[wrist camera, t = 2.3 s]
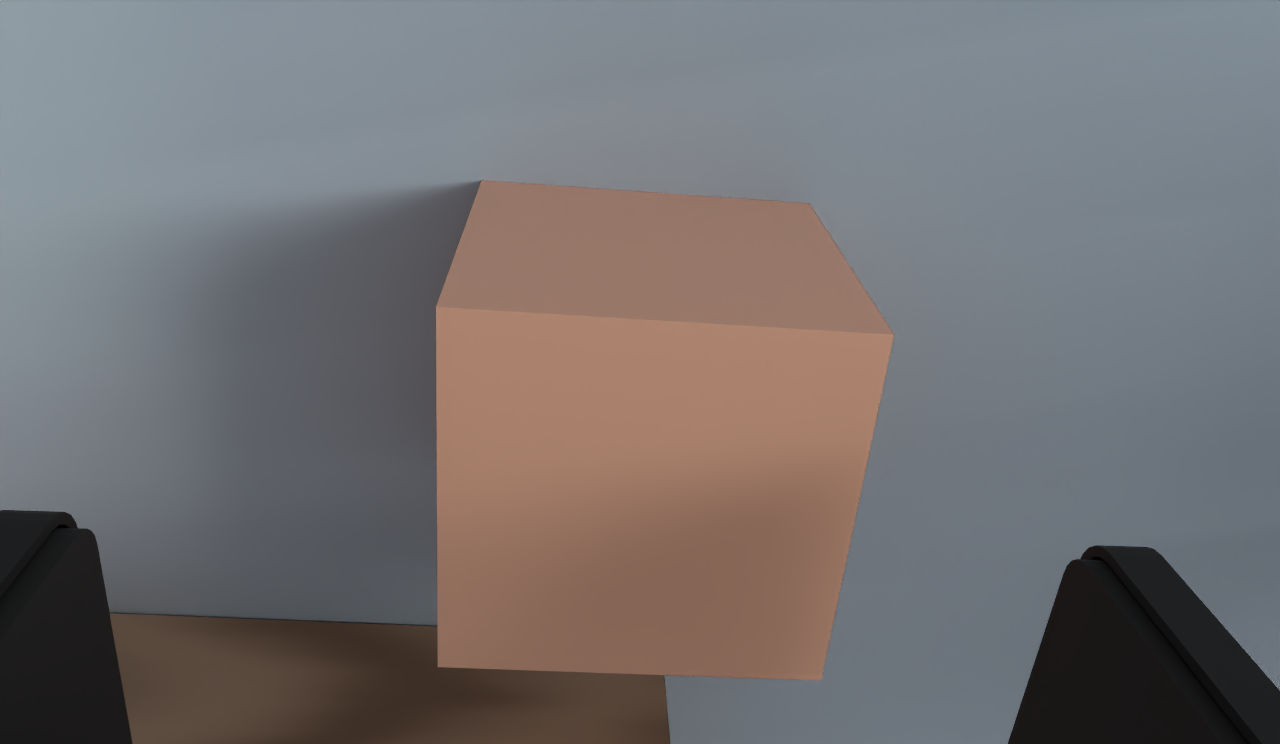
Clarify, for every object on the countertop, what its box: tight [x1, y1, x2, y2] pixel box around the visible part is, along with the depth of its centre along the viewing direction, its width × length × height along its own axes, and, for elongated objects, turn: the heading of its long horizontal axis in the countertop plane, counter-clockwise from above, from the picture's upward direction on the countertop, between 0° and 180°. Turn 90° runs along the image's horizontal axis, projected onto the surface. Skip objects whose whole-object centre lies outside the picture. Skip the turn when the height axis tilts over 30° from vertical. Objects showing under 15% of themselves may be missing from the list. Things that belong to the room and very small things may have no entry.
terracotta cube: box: [436, 180, 894, 681], centre depth 14 cm, size 5×5×5 cm
